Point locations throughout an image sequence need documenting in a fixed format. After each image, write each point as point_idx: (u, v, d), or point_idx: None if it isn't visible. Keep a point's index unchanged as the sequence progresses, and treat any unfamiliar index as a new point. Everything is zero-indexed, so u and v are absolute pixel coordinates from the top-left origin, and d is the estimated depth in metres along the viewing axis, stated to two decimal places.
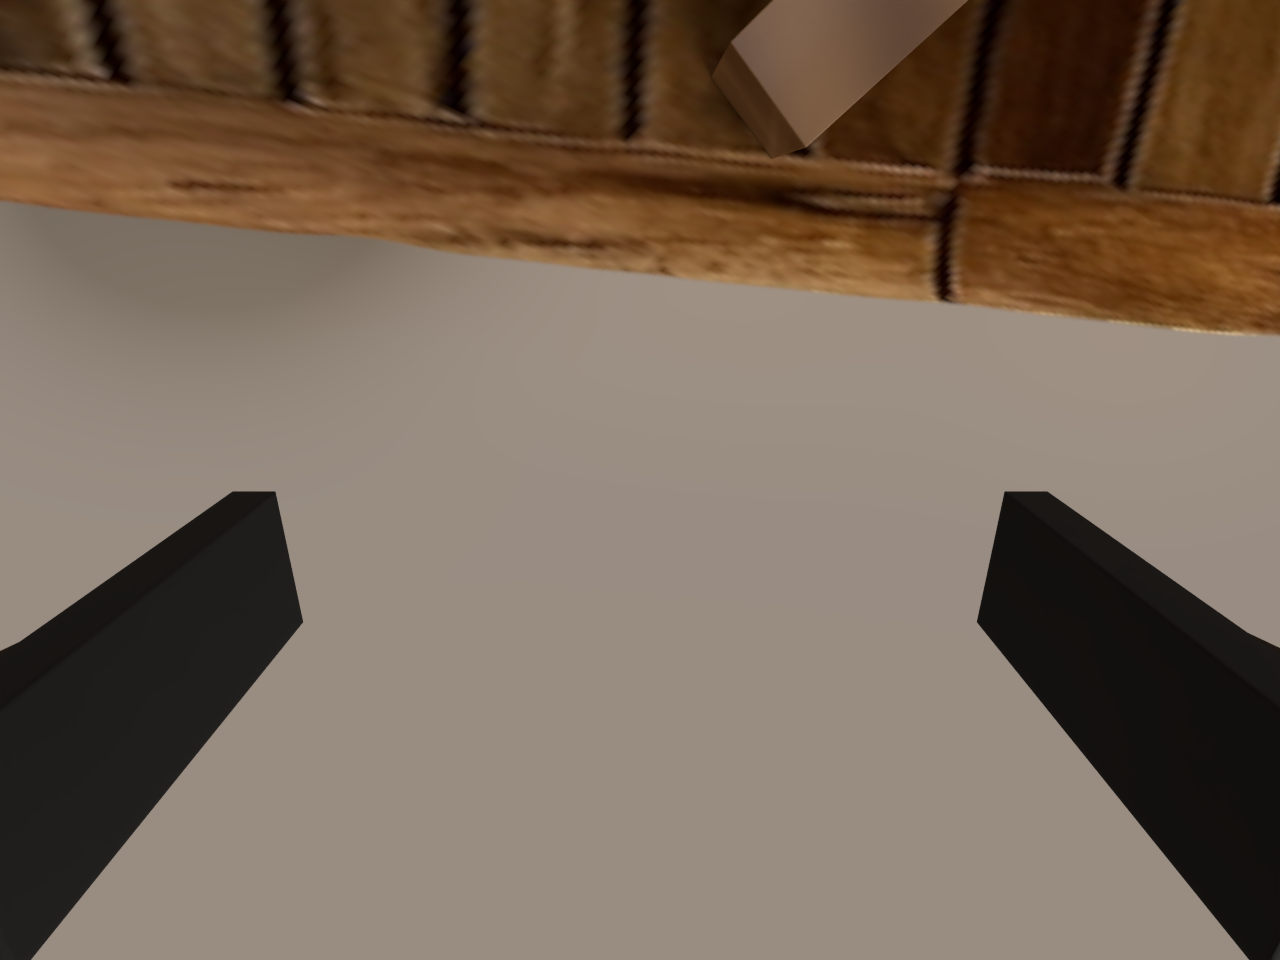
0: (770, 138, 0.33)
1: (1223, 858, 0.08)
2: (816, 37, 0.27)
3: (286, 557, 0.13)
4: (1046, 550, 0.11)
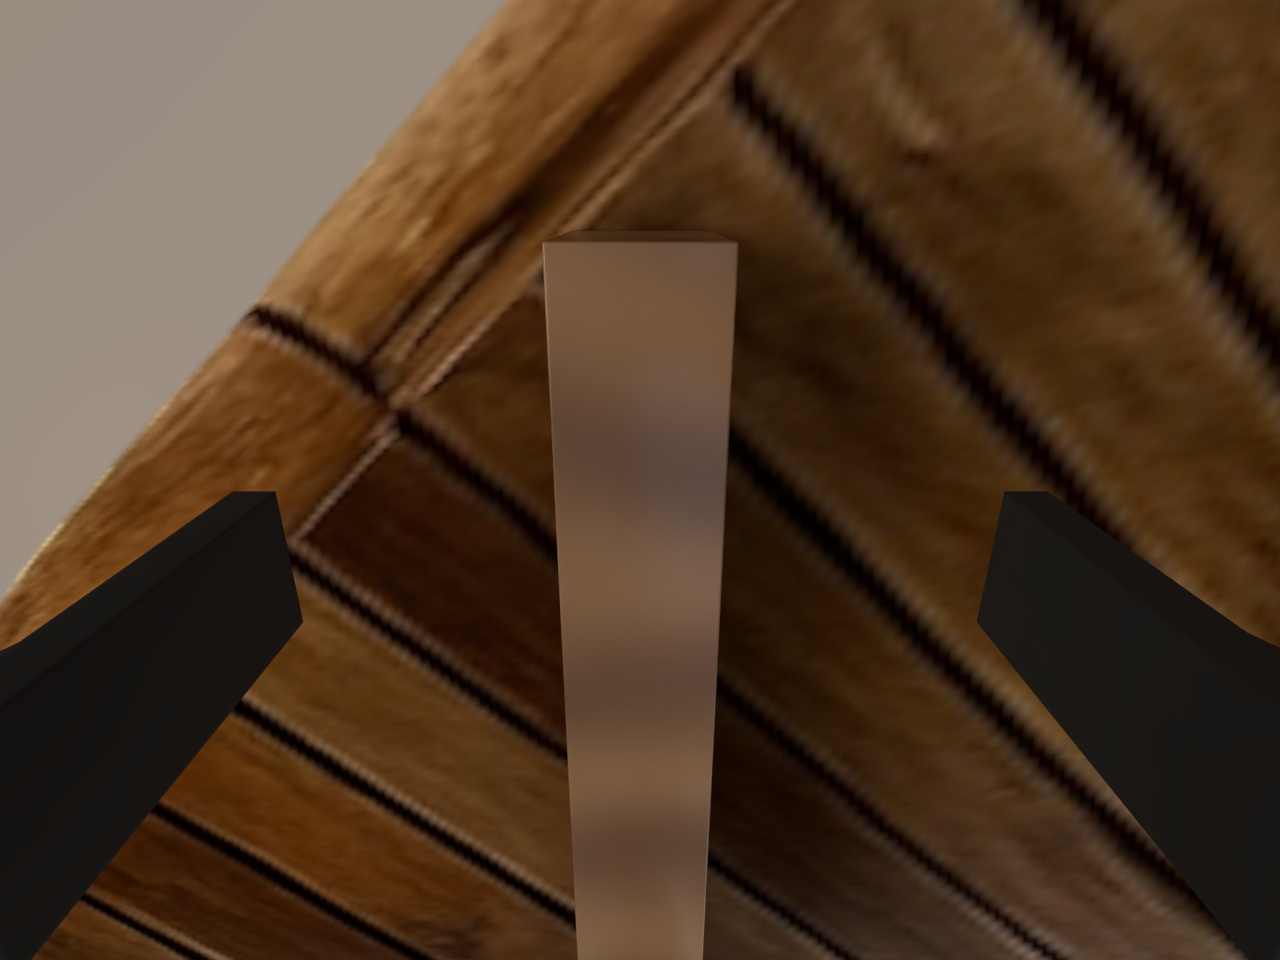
0: (592, 233, 0.22)
1: (1223, 858, 0.08)
2: (654, 344, 0.18)
3: (286, 557, 0.13)
4: (1046, 549, 0.11)
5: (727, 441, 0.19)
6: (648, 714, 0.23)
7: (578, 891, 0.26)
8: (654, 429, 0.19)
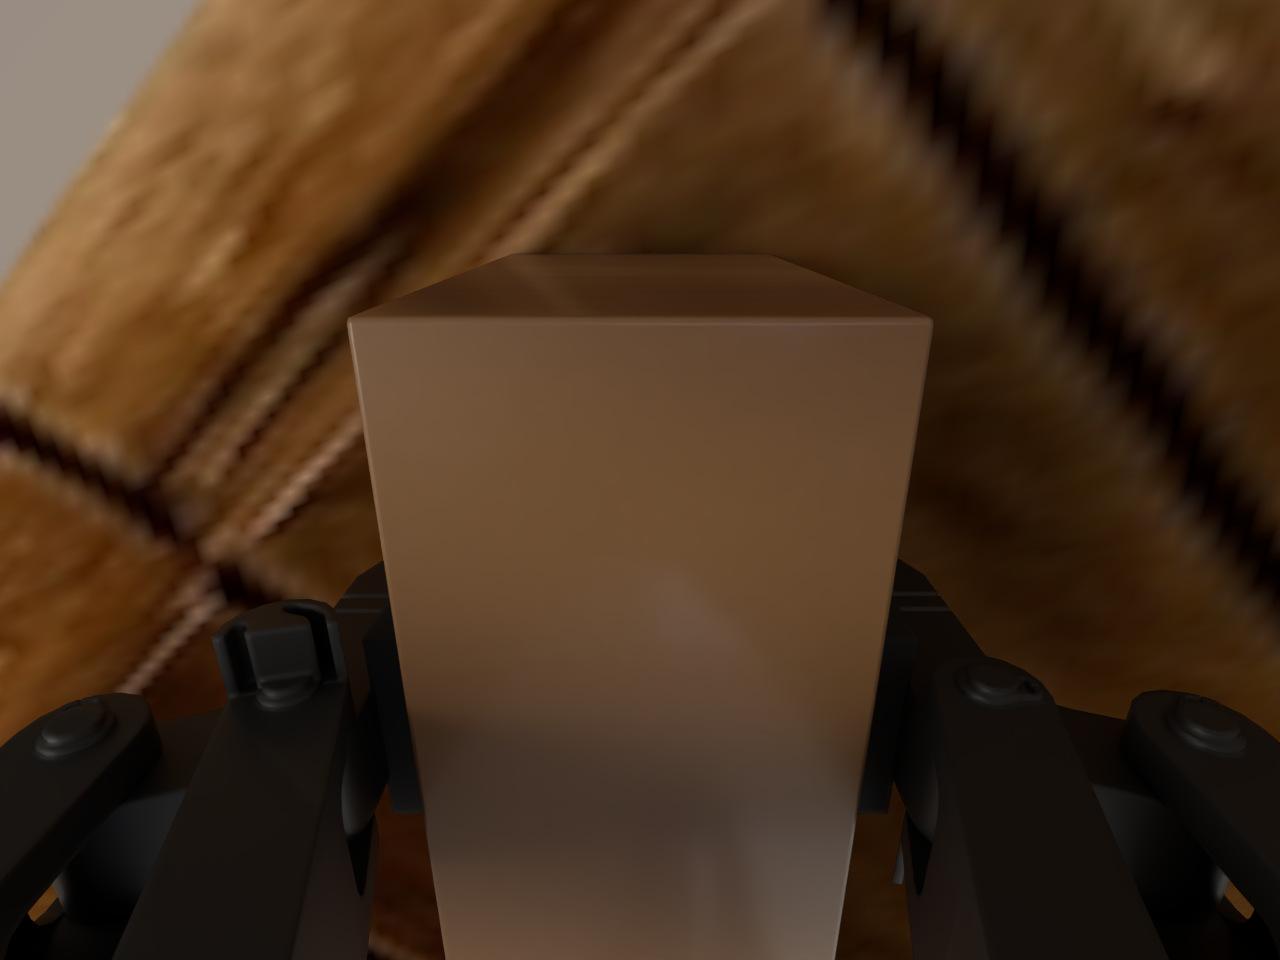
0: (539, 267, 0.10)
1: None
2: (679, 587, 0.07)
3: None
4: None
5: (858, 797, 0.08)
6: None
7: None
8: (676, 774, 0.08)
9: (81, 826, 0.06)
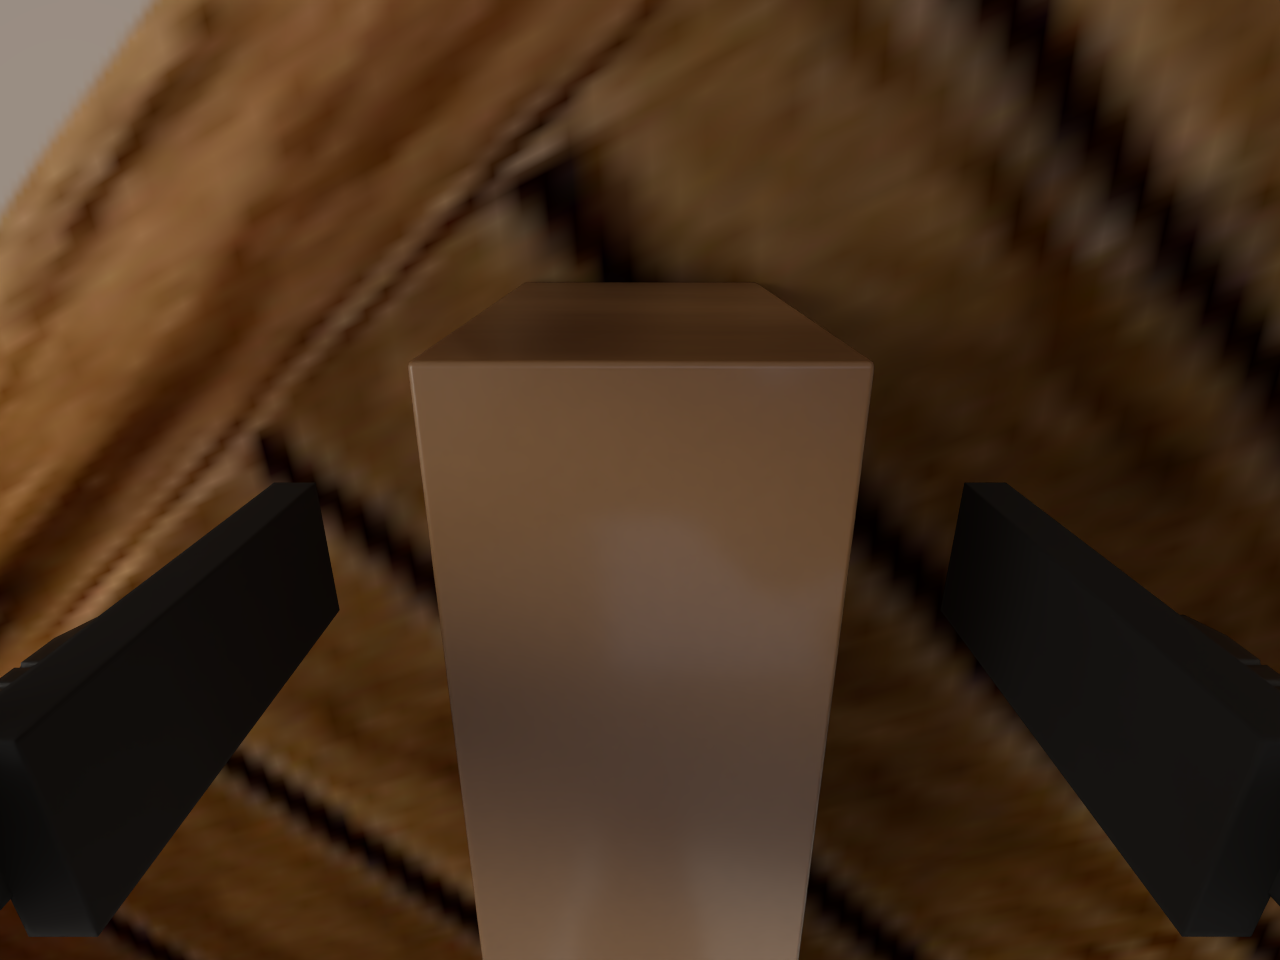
0: (552, 300, 0.12)
1: (1150, 826, 0.08)
2: (671, 577, 0.08)
3: (325, 547, 0.13)
4: (1000, 538, 0.11)
5: (823, 754, 0.09)
6: None
7: None
8: (671, 734, 0.09)
9: None
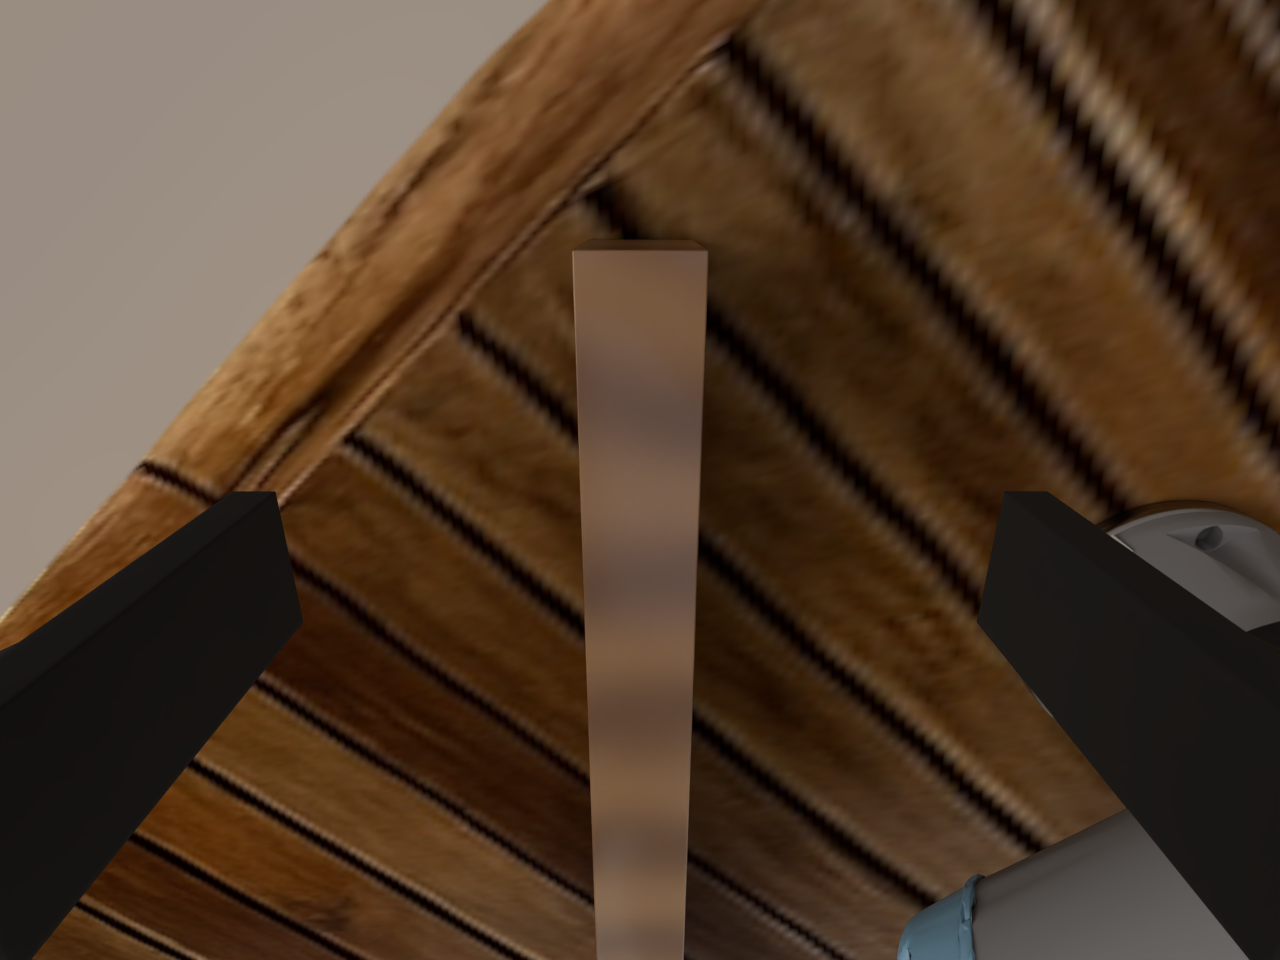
0: (604, 243, 0.30)
1: (1223, 858, 0.08)
2: (650, 322, 0.26)
3: (286, 557, 0.13)
4: (1046, 549, 0.11)
5: (702, 392, 0.27)
6: (646, 603, 0.31)
7: (592, 749, 0.34)
8: (650, 384, 0.27)
9: None
